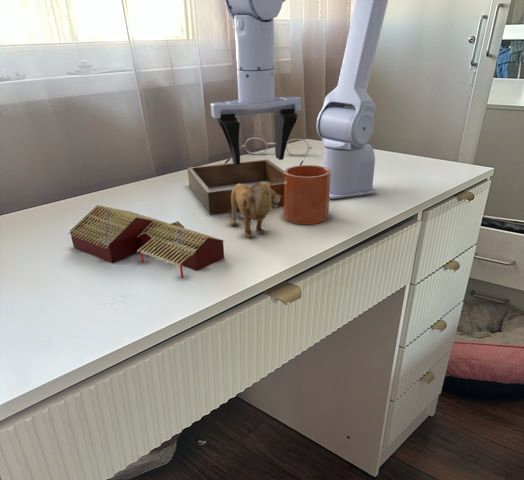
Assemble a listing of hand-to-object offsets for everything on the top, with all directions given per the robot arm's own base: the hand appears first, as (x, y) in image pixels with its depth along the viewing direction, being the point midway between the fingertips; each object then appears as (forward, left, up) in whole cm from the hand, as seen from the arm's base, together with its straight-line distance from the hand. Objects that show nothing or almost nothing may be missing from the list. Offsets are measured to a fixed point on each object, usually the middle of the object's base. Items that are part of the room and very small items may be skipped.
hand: (258, 160), depth 86 cm
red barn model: (+21, +9, -10) cm, 25 cm away
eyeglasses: (-14, -35, -10) cm, 39 cm away
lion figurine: (+3, +5, -10) cm, 12 cm away
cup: (-8, +3, -10) cm, 13 cm away
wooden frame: (-1, -14, -10) cm, 17 cm away
